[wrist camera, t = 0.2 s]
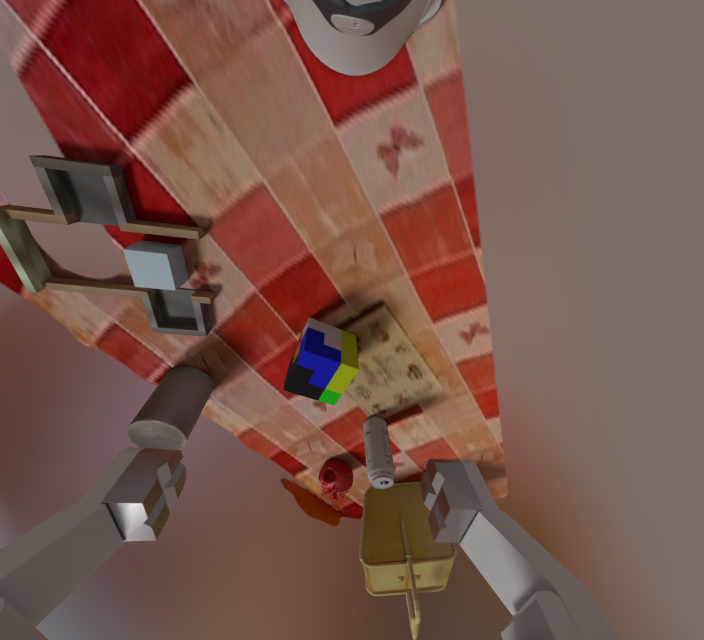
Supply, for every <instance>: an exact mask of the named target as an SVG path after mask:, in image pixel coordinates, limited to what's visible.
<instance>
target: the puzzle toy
mask: <svg viewBox="0 0 704 640" xmlns="http://www.w3.org/2000/svg"><path fill="white" fill-rule="evenodd" d="M358 370H359V364H358V353H357V342H356V335H354V334H351V333H349V332H346V331H343V330H341V329H338V328H336V327H333V326H331V325H328V324H325V323H323V322H320V321H318V320H315V319H313V318H309V320H308V322H307V324H306V326H305V328H304V330H303V332H302V334H301V336H300V338H299V340H298V342H297V344H296V346H295V348H294V350H293V352H292V354H291V359H290V363H289V367H288V372H287V376H286V380H285V385H284V389H283V390H285V391H288V392H291V393H295V394H298V395H301V396H305V397H308V398H311V399H315V400H318V401H321V402H325V403H328V404H331V405H335V404H336V402H337V401H338V399H339V398H340V396H341V395H342V394H343V392H344V391H345V389H346V388H347V386H348V385H349V383H350V382H351V380H352V379H353V378H354V376H355V375H356V373H357V372H358Z"/></svg>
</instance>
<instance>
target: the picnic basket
mask: <svg viewBox="0 0 704 640" xmlns="http://www.w3.org/2000/svg"><path fill="white" fill-rule="evenodd" d="M429 514H430V510H429V509H428V508H427V507H426V506H425V505H424V503H423V499H422V494H421V482H416V481H414V482H402V483H394V484H393V485H392V486H391V487H389V488H386V489H376V488H374V487H370V488H369V489H368V490H367V491H366V493H365V496H364V506H363V518H362V530H361V540H360V551H359V555H360V560H361V562H362V564H363V567H364V572H365V577H366V589H367V590H368V592H369V593H370V594H372V595H374V596H384V595H397V594H406V598H407V605H408V612H409V619H410V625H411V632H412V637H413V639H416V638H417V634H418V630H419V623H420V621H421V612H420V605H419V599H418V593H422V592H434V591H440V590H443V589H444V588H445V587H446V584H447V580H448V577H449V574H450V571H451V567H452V565H453V561H454V558H455V557H456V553H457V549H456V545H455V543H443V542H434V539H433V535H432V532H431V528H430V525H429V521H428V517H429ZM410 593H412V594H413V600H414V606H415V614H414V615H413V611H412V605H411V598H410Z"/></svg>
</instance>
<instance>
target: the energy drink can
mask: <svg viewBox="0 0 704 640" xmlns="http://www.w3.org/2000/svg"><path fill="white" fill-rule="evenodd" d="M363 429H364V440H365V452H366V464H367V475H368V479H369V480H370V482H371V485H372V487H374V488H376V489H386V488H389V487H391V486H392V485H393V484H394V481H393V480H394V477H395V470H394V464H393V458H392V452H391V446H390V440H389V434H388V429H387V423H386V422H385V421H384V420H383V418H381V417H378V416H373V417H370V418H368V419H367V420H366V421H365V423H364V425H363Z"/></svg>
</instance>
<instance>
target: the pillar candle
mask: <svg viewBox="0 0 704 640" xmlns="http://www.w3.org/2000/svg"><path fill="white" fill-rule="evenodd" d="M213 387H214V383H213V380H212V378H211V377H210V376H208V375H207V374H206V373H205V372H203V371H202V370H200V369H198V368H196V367H192V366H179V367H175V368H173V369H171V370H170V371H169V372H168V373H167V374H166V376H165V377H164V378H163V380H162V381H161V382H160V384H159V385H158V387H157V388H156V389H155V391H154V392H153V393H152V395H151V396H150V397H149V399H148V400H147V402H146V403H145V404H144V406H143V407H142V409H141V410H140V411H139V413H138V414H137V416H136V417H135V418H134V420H133V421H132V423H131V424H130V425H129V427H128V429H127V436H128V437H129V439H130V440H131V441H132V442H133V443H135V444H136V445H138V446H139V447H141V448H152V449H171V450H179V449H181V448H182V447H183V446H184V445H186V441H187V439H188V437H189V435H190V433H191V431H192V429H193V427H194V426H195V424H196V422H197V420H198V418H199V416H200V414H201V412H202V410H203V408H204V406H205V404H206V402H207V400H208V398H209V396H210V394H211V392H212V390H213Z"/></svg>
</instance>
